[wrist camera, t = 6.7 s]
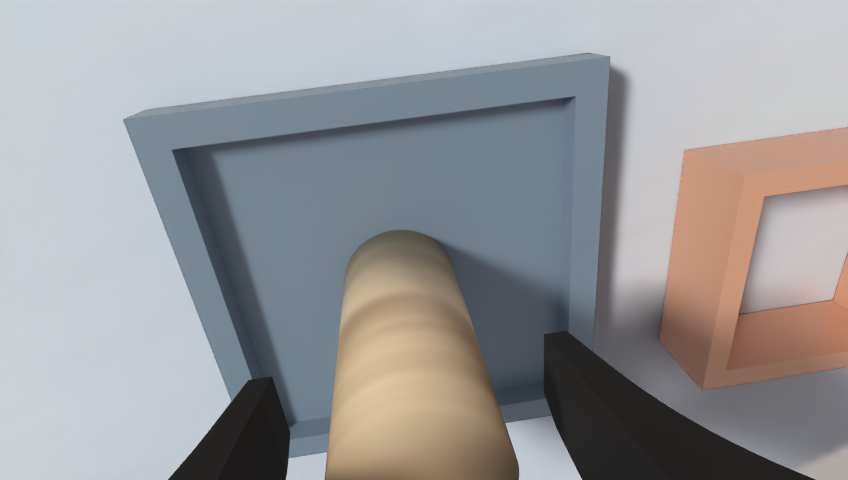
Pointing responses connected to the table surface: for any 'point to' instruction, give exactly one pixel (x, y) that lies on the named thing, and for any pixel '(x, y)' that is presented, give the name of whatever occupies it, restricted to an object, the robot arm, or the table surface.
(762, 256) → the table surface
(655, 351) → the table surface
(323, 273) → the slate tray
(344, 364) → the maple peg
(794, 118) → the table surface
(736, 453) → the robot arm
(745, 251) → the hollow square frame
